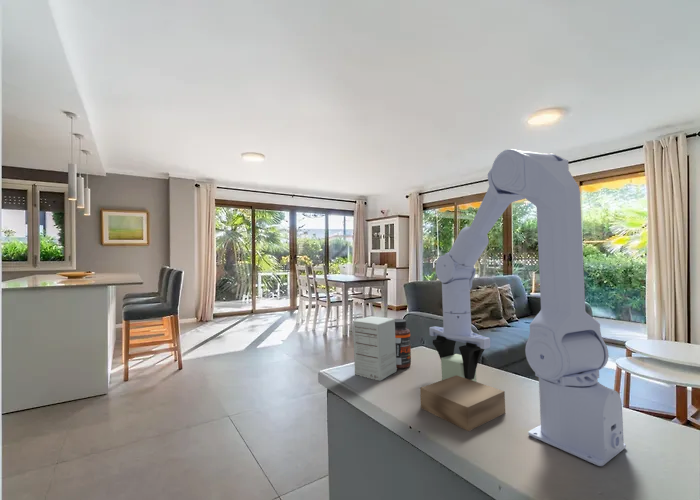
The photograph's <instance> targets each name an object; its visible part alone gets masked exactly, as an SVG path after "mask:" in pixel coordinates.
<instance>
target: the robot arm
mask: <svg viewBox="0 0 700 500" xmlns="http://www.w3.org/2000/svg"><path fill="white" fill-rule="evenodd" d="M569 169H570V168H569V160H568V159H566V158H564V157H562V156H559V155H557V154H556V153H551V152H549V153H541V152H534V151H525V150H517V149H513V148H509V149H505V150H503V151H501V152H499V154H497V157H495V159H494V161H493V164H492V167H491V169H490V170H489V172H488V173H487V181H488V182H487V183H488V188H487V191H486V192H485V194H484V196H483V198H482V201H481V203H480V205H479V207H478V210H477V212H476V214H475V216H474V218H473V220H472V223H471V224H470V226H465V227H463V228H462V229H461V230H460V231H459V233H458V235H457V238H456V239H455V240H454V243H453V245H452V246H451V248H450V249H449V251H448V252H445V254H444V255H443V254H442V255H440V256H439V257H438V258H437V261H436V263H435V274H436V277H437V279H438V281H439V282H441V294H442V295H441V298H442V302H441V304H442V326H441V327H440V326H435V325H434V326H430V327H429V328H428V329H429V336H430V337H436V339H432V344H433V346H434V348H435V349H436V351H437V353H438V356H439V358H440V360H441V358H443V357H447V356H450V355H454V354H455V347H456V342H459V343H463V344H465V345H460V346H458V350H459V353H460V355H461V356H462V359H463V365H464V376H465V378H466V379H469V380H472V379H474V376H475V372H476V373H477V368H478V364H479V361H480V359H481V356H482V355H483V353H484V351H485V350H486V349H489V348H491V338H490V337H487V336H484V335H481V334H479V333H477V332H473V330H472V313H471V312H472V311H471V310H472V309H471V290H472V288H473V281H474V278H475V276H476V271H477V269H476V268H475V265H476V264H477V262H478V260H479V259H480V257H481V255H482V254H483V253H484V252H485V249H486V248H487V247H488V245H489V242H490V240H489V236H488V234H489V232H490V231H491V230H492V229H493V228H494V226H495V224H497V222H498V221H499V220H500V218H501V217H502V215H503V214H504V212H505V211H506V210H507V208H508V207H509V206H510V205H511V204H512V203H514V202H519V201H521V200H524V199H526V201H528V202H529V203H531V204H533V206H535V208H536V220H537V221H536V223H537V226H536V227H537V248H538V249H537V250H538V269H539V272H538V273H539V274H538V275H539V289H540V290H539V293H540V297H539V298H540V311H539V312H538V313H537V314H536V315H535V317H534V318H533V320H532V321H531V322H530V324H529V336H528V339H527V341H526V343H525V349H524V351H525V357H526V358H525V359H526V361H527V363H528V366H529V367H530V368H531V370H532V371H533V372H534V376H535V377H537V378H538V392H539V417H540V418H539V419H540V424H539V425H537V426H536V427H534V428H531V429H530V430H528V431H527V434H528V435H529V436H530V437H532V438H534V439H537V440H539V441H542V442H543V443H546V444H548V445H550V446H552V447H555V448H557V449H559V450H561V451H564V452H566V453H568V454H571V455H573V456H575V457H577V458H579V459H581V460H585V461H586V462H589V463H591V464H594V465H596V466H598V467H603V466H604V465H606V464H607V463H608V462H610V461H611V460H612V459H613V458H614V457H616V456H617V455H618V454H620V452H622V451H623V450H625V449H626V448H627V444H626V443H625V441H624V424H623V423H624V422H623V421H624V419H623V405H622V399H621V396H620V394H619V392H618V391H617V390H615V389H612V388H609V387H607V386H605V385H603V384H602V383H600V382H599V381H598V379H599V378H600V370H602V369H604V367H606V366H607V364H608V361H609V357H610V356H609V350H608V346H607V344H606V343H605V341H604V339H603V335H602V333H601V324H600V322H599V321H597V320H596V319H595V318H594V317H592V316H591V315H590V314H589V313H588V312H587V311H586V296H585V293H586V292H585V291H586V290H585V275H584V274H585V273H584V253H583V250H584V249H583V231H582V230H583V228H582V210H581V209H582V208H581V191H580V187H579V185H578V183H577V181H576V180H575V178H574V177H573V175H572V173H571V172H570V170H569Z"/></svg>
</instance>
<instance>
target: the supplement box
mask: <svg viewBox="0 0 700 500" xmlns="http://www.w3.org/2000/svg"><path fill="white" fill-rule="evenodd" d="M395 319H396V318H391V317H383V316H373V315H371V316H366V317H362V318H360V319H355V320H353V321H352V325H353V326H352V331H353V358H354V361H353V362H354V363H353V364H354V375H356V376H358V375H360V376H359V377H362V376H364V377H363V378H366V377H367V379H370V378H372V379H371V380H374V379H376V380H375V381H380V382H382V381H383V380H385V379H386V378H387V377H389V376H391V375H393V374H394V373H396V372H397V368H396V342H395Z"/></svg>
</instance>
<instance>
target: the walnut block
mask: <svg viewBox="0 0 700 500" xmlns="http://www.w3.org/2000/svg"><path fill="white" fill-rule="evenodd" d="M419 389H420V393H419V394H420V395H419V396H420V409H422V410H424V411H426V412H428V413H430V414H432V415H433V416H436V417H438V418H440V419H442V420H444V421H446V422H448V423H451V424H452V425H454V426H455V427H458V428H461V429H463V430H465V431H467V432H470V431H472V430H474V429H477V428H478V427H481V426H482V425H484V424H486V423H488V422H490V421H493V420H494V419H496V418H499V417H500V416H502V415H504V414H506V395H505V393H506V392H505V390H501V389H498V388H496V387H492V386H490V385H487V384H484V383H481V382H478V381H477V382H475V381H472V380H469V379H466V378H463V377H460V376H457V375H456V376H453V377H450V378H447V379H444V380H442V379H441V380H440V381H436V382H433V383H429V384H428V385H424V386H422V387H420V388H419Z"/></svg>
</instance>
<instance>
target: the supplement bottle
mask: <svg viewBox="0 0 700 500" xmlns="http://www.w3.org/2000/svg"><path fill="white" fill-rule="evenodd" d="M394 319H395V342H396V368H397V369H407V368H409V367H411V364H412V354H411V353H412V351H411V349H412V348H411V331H410V328H408V327H407V320H406V319H402V318H394Z"/></svg>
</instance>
